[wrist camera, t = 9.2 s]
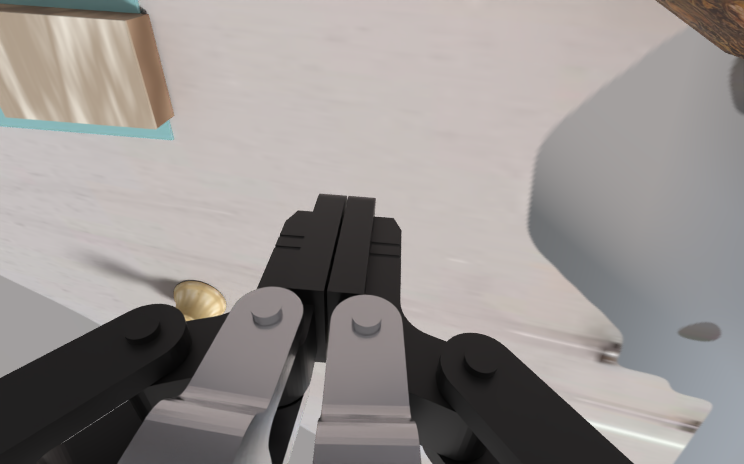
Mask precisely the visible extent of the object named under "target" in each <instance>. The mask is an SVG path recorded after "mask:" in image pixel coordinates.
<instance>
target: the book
mask: <svg viewBox="0 0 744 464" xmlns="http://www.w3.org/2000/svg"><path fill="white" fill-rule="evenodd" d="M656 1H657V2H659V3H660V4H661V5H663V6H664V7H665V8H667V9H668V10H669V11H671V12H672V13H673V14H675V15H676V16H677V17H679V18H680V19H681V20H683V21H684V22H685V23H687V24H688V25H689V26H691V27H692V28H693V29H695V30H696V31H697V32H699V33H700V34H701V35H703V36H704V37H705V38H707V39H708V40H709V41H711V42H712V43H713V44H715V45H716V46H717V47H719V48H720V49H721V50H723V51H724V52H726V53H728V54H732V55H734V56H737V57H740V58H743V59H744V0H656Z"/></svg>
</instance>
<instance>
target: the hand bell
mask: <svg viewBox="0 0 744 464" xmlns="http://www.w3.org/2000/svg"><path fill="white" fill-rule="evenodd" d="M174 300H175V302H176V308H177V309H179V310H180V311H181V312H182V314H183V315H184V317H185V320H186V321H190V320H196V319H202V318H208V317H214V316H218V315H221V314H223V313H224V311H225V309H226V301H225V299H224V297H223V296H222V295H221V293H220V292H219V291H217V290H216V289H215V288H213V287H211V286H210V285H207V284H205V283H202V282H198V281H186V282H182V283H180V284H178V285H177V286H176V287H175V289H174Z"/></svg>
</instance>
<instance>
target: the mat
mask: <svg viewBox="0 0 744 464" xmlns="http://www.w3.org/2000/svg"><path fill="white" fill-rule="evenodd" d="M0 3H1V4H14V5H28V6H42V7H56V8H70V9H83V10H97V11H111V12H125V13H139V14H141V12H140V8H139V4H138V0H0ZM0 126H3V127H16V128H28V129H40V130H53V131H65V132H77V133H90V134H102V135H114V136H127V137H139V138H151V139H164V140H173V139H174V137H173V133H172V129H171V125H170V122H169V120H168V121H166V122H165V123H164V124H162V125H161V126H160V127H158V128H157V129H144V128H132V127H119V126H107V125H94V124H82V123H69V122H57V121H45V120H32V119H20V118H7V117H5V115H4V113H3V111H2V109H1V108H0Z"/></svg>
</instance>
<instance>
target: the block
mask: <svg viewBox="0 0 744 464" xmlns="http://www.w3.org/2000/svg"><path fill="white" fill-rule="evenodd" d="M0 108H1V109H2V111H3V113H4V115H5V117H7V118H20V119H32V120H45V121H57V122H69V123H82V124H94V125H107V126H119V127H132V128H144V129H157V128H158V127H160V126H161V125H162V124H164V123H165V122H166V121H168V120H169V119H170V118H172V117H173V116H174V113H173V109H172V105H171V101H170V97H169V93H168V89H167V85H166V81H165V77H164V73H163V69H162V65H161V61H160V57H159V54H158V50H157V46H156V42H155V38H154V34H153V30H152V26H151V22H150V18H149V14H139V13H125V12H111V11H97V10H83V9H70V8H56V7H42V6H28V5H14V4H1V3H0Z"/></svg>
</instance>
